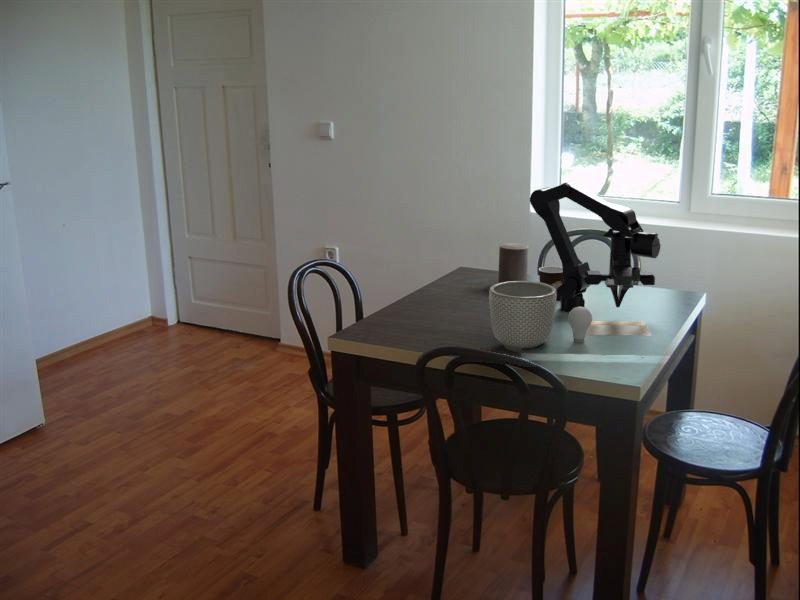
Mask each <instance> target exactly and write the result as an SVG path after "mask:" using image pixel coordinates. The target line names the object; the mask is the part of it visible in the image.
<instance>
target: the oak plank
mask: <svg viewBox="0 0 800 600" xmlns="http://www.w3.org/2000/svg"><path fill="white" fill-rule="evenodd" d="M590 325H639V326H646V324H645V321H615V320H614V321H609V320H608V321H607V320H603V321H602V320H600V321H599V320H596V321H595V320H592V322H591V324H590Z"/></svg>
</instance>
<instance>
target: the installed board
mask: <svg viewBox="0 0 800 600" xmlns="http://www.w3.org/2000/svg"><path fill="white" fill-rule="evenodd" d="M585 336H631V337H632V336H636V337H643V336H644V337H651V336H653V334H652V333H651V331H650V329H649V328H648V326H647V325H590V326H589V327H588V329H587V331H586V335H585Z"/></svg>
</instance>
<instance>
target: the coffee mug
mask: <svg viewBox="0 0 800 600" xmlns="http://www.w3.org/2000/svg"><path fill="white" fill-rule="evenodd" d="M562 274H563V266H543V267H541V266H540V267H539V268H538V277H539V282H540V283H545V284H548V285H551V286H553V287H554V288H555V289H557V288H558V287H559V286H561V285H562V284H563V283H564V280H563V275H562ZM556 293H557V290H556ZM556 302H560V296H558V294H557V297H556Z"/></svg>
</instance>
